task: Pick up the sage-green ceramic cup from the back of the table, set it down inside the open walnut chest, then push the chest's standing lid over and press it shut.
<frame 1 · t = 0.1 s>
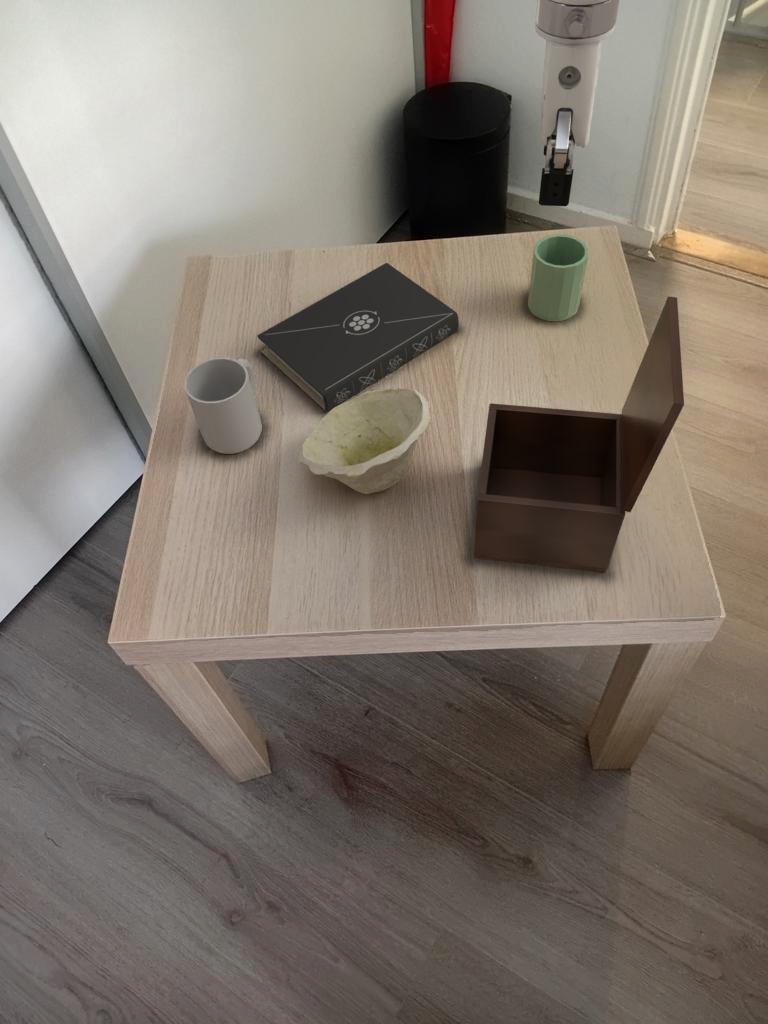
hand: (555, 179, 87), 20 cm above the table, tool pointing down, fingers open, 9 cm apart
book: (360, 343, 103), on the table
chest: (542, 516, 85), on the table
cup: (239, 426, 95), on the table
lid: (648, 407, 69), point 18 cm above the table, hinge at 95.0°
green cup: (553, 304, 104), on the table
bowl: (368, 471, 90), on the table
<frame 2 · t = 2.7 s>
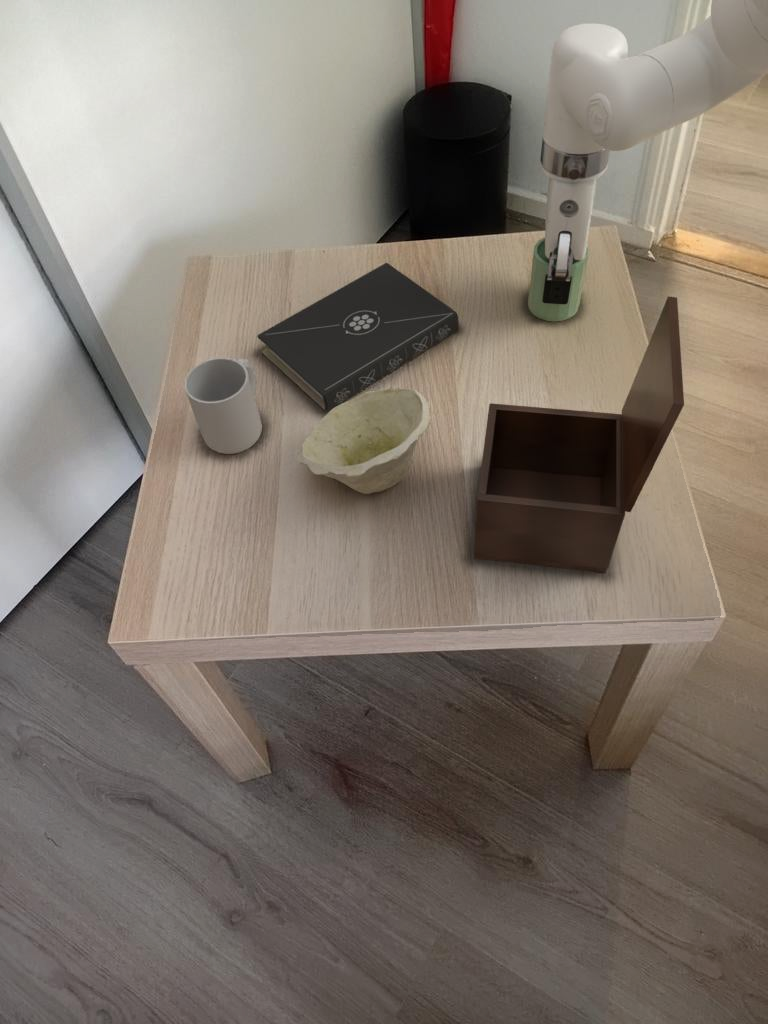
hand: (556, 282, 102), 4 cm above the table, tool pointing down, fingers closed on green cup, 6 cm apart
green cup: (553, 304, 104), on the table, touching gripper
everything else where it was.
when the fingers open (10 cm above the table, at t = 29.0 s): green cup drops 5 cm, resting on chest.
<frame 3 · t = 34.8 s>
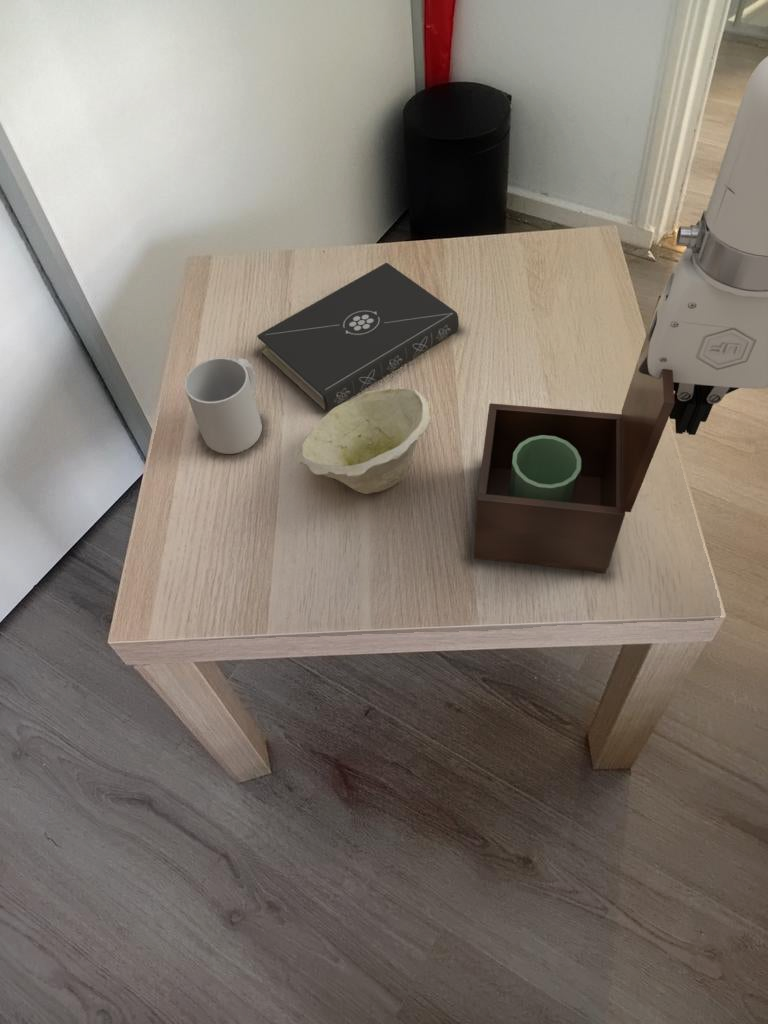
hand: (684, 422, 70), 16 cm above the table, tool pointing down, fingers closed
lid: (644, 407, 69), point 18 cm above the table, hinge at 92.0°, touching gripper
green cup: (538, 511, 84), point 1 cm above the table, touching chest
everything else where it was.
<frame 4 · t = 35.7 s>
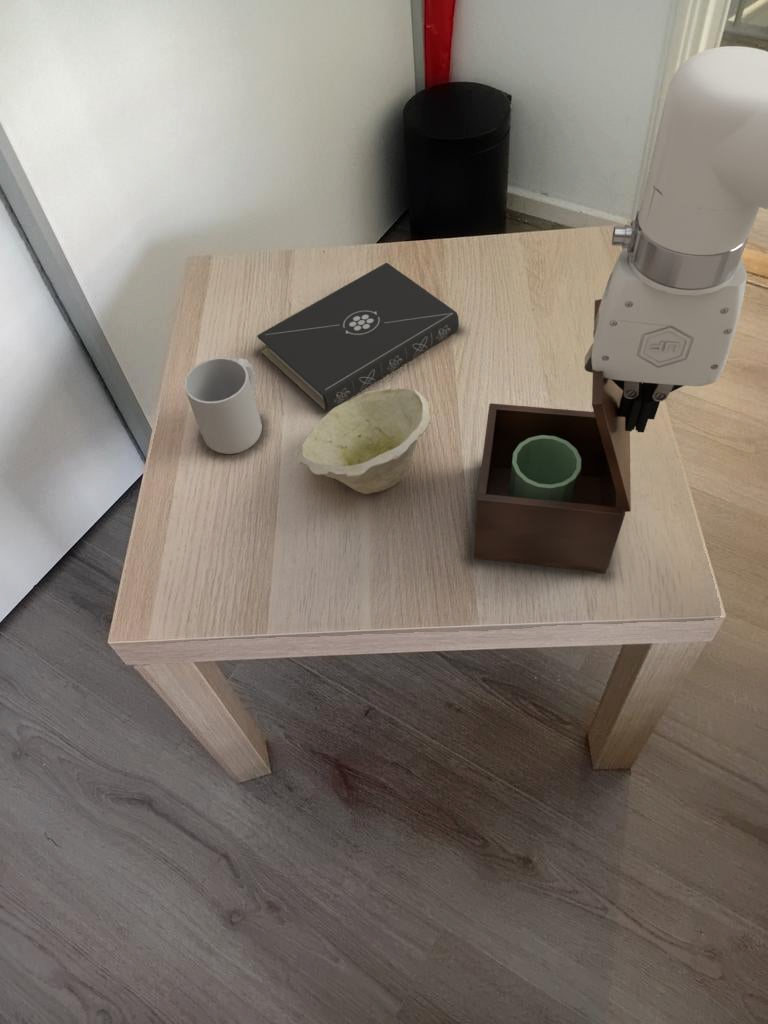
hand: (634, 419, 70), 16 cm above the table, tool pointing down, fingers closed
lid: (613, 407, 70), point 18 cm above the table, hinge at 70.7°, touching gripper
everything else where it was.
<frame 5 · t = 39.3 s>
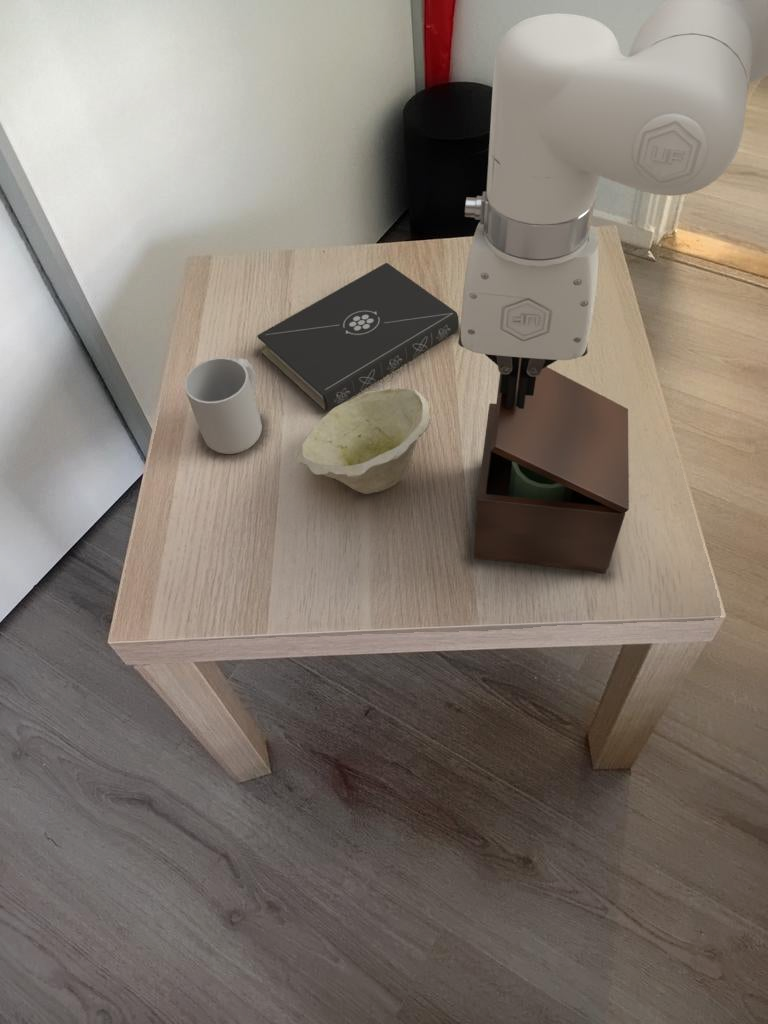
hand: (516, 396, 71), 18 cm above the table, tool pointing down, fingers closed
lid: (564, 428, 73), point 14 cm above the table, hinge at 29.6°
everything else where it was.
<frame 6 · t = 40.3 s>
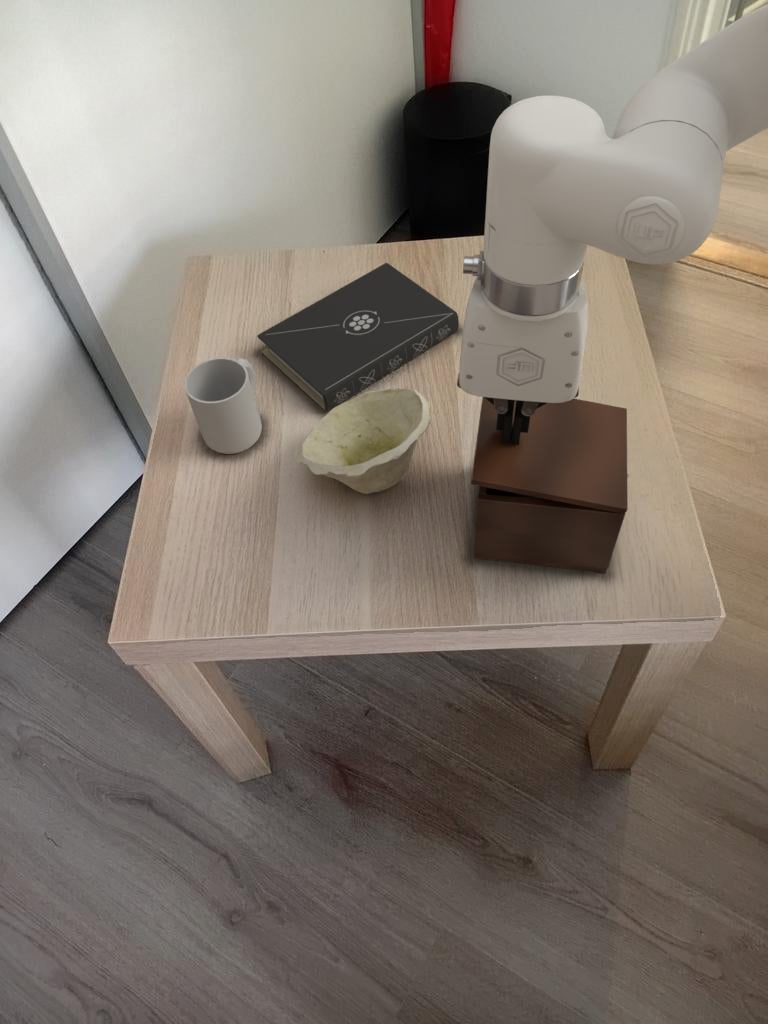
hand: (511, 432, 75), 13 cm above the table, tool pointing down, fingers closed
lid: (551, 444, 75), point 12 cm above the table, hinge at 8.7°
everything else where it was.
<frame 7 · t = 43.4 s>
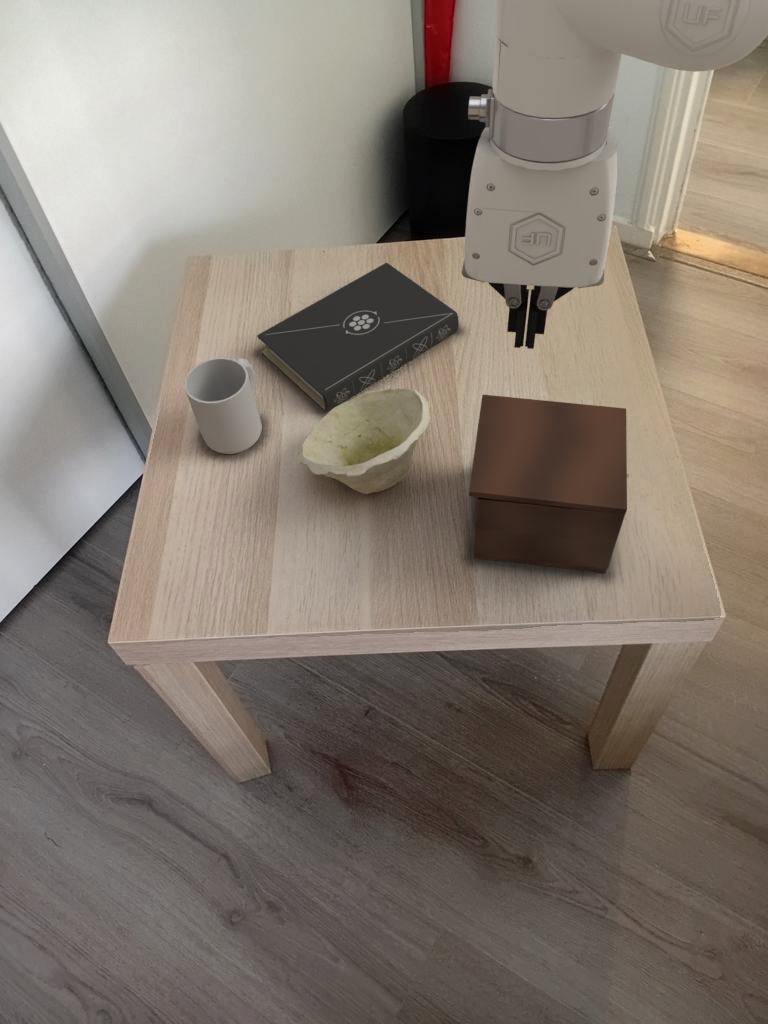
hand: (525, 336, 65), 25 cm above the table, tool pointing down, fingers closed
lid: (549, 451, 76), point 11 cm above the table, hinge at 1.3°
everything else where it was.
at the end: green cup inside the target area in the chest (0.5 cm from its centre), point 0.8 cm above the chest's base; green cup tilted 0°; lid at +1° (first picture: +95°) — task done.
